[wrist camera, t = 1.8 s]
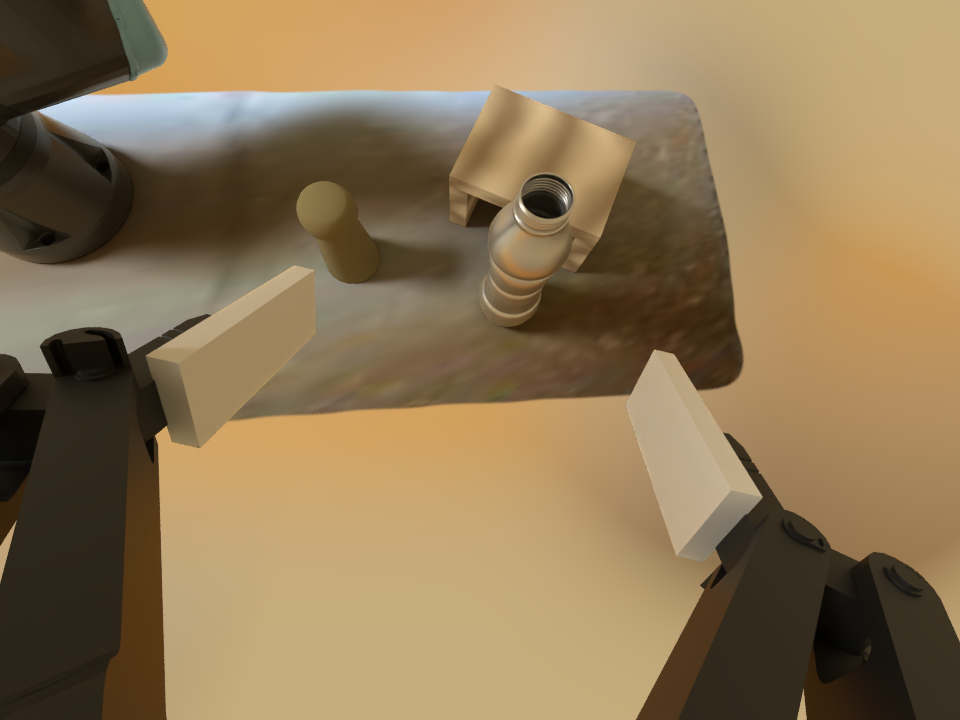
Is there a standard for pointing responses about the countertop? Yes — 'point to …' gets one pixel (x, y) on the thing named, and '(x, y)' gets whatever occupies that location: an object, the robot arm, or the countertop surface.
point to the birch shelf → (540, 163)
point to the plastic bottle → (527, 248)
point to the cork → (338, 231)
